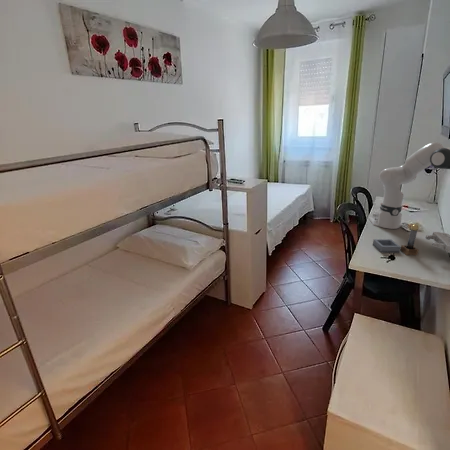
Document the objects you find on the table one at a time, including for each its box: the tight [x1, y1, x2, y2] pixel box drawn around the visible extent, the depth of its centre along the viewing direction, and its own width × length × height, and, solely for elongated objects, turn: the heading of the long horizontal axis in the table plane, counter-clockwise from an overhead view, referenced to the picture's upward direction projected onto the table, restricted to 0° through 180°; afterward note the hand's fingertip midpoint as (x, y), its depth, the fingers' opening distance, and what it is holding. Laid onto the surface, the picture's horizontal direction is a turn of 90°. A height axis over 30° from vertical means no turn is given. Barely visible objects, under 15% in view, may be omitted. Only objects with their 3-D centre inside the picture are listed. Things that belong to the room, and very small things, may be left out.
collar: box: [400, 244, 420, 256], centre depth 165 cm, size 6×6×3 cm
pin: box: [406, 224, 419, 249], centre depth 163 cm, size 4×4×16 cm
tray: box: [372, 238, 401, 254], centre depth 169 cm, size 10×10×4 cm
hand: (429, 240), depth 161 cm, fingers open, 8 cm apart
